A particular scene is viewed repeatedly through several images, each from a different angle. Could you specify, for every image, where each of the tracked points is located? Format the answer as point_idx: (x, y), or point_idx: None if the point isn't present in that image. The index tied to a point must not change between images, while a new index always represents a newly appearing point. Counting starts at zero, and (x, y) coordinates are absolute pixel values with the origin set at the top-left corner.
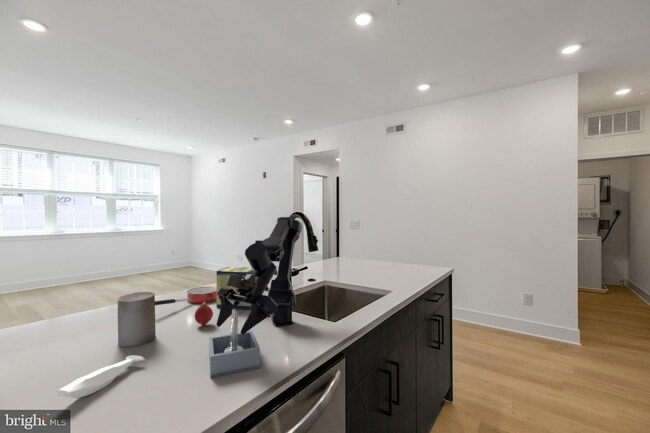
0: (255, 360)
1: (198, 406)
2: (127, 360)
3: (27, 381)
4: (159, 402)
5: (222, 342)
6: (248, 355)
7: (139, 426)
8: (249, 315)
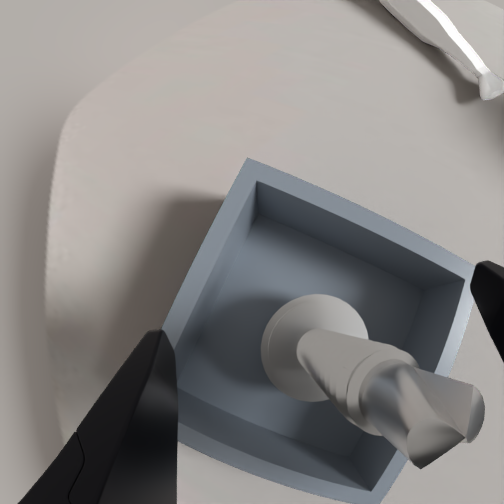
0: None
1: (135, 118)
2: (482, 67)
3: (484, 9)
4: (241, 60)
5: (431, 335)
6: None
7: (186, 28)
8: (86, 478)
